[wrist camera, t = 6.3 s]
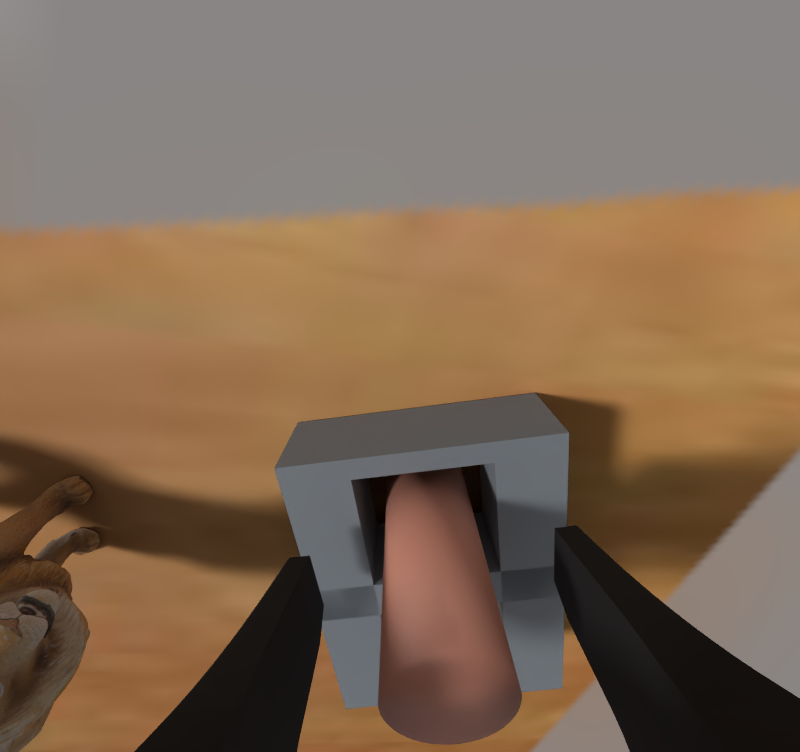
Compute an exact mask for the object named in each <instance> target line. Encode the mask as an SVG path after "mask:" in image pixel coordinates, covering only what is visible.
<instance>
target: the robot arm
mask: <svg viewBox="0 0 800 752" xmlns="http://www.w3.org/2000/svg"><path fill="white" fill-rule="evenodd" d="M554 582H555V585H556V588H557V590H558V593H559V596H560V599H561V602H562V604H563V607H564V610H565V612H566V615H567V618H568V620H569V622H570V624H571V626H572V628H573V631H574V633H575V635H576V637H577V639H578V641H579V643H580V645H581V647H582V649H583V651H584V653H585V655H586V657H587V660H588V662H589V664H590V666H591V668H592V670H593V672H594V674H595V676H596V678H597V680H598V682H599V684H600V686H601V688H602V690H603V692H604V694H605V696H606V698H607V701H608V703H609V704H610V706H611V709H612V711H613V713H614V715H615V717H616V720H617V722H618V724H619V726H620V729H621V731H622V733H623V735H624V738H625V740H626V743H627V745H628V748H629V750H630V752H800V698H798V697H796V696H795V695H793V694H792V693H790V692H789V691H787V690H785V689H784V688H782V687H781V686H779V685H777V684H776V683H774V682H773V681H771V680H770V679H768V678H767V677H765V676H763V675H762V674H760V673H759V672H757V671H755V670H754V669H753V668H751V667H750V666H748V665H747V664H745V663H744V662H742V661H741V660H739V659H738V658H736V657H735V656H733V655H732V654H730V653H729V652H727V651H726V650H725V649H723V648H722V647H721V646H719V645H718V644H716V643H715V642H714V641H712V640H711V639H709V638H708V637H707V636H705V635H704V634H703V633H701V632H700V631H698V630H697V629H696V628H695V627H693V626H692V625H691V624H689V623H688V622H687V621H685V620H684V619H683V618H681V617H680V616H679V615H678V614H677V613H675V612H674V611H673V610H672V609H670V608H669V607H668V606H666V605H665V604H664V603H663V602H662V601H660V600H659V599H658V598H657V597H655V596H654V595H653V594H652V593H651V592H649V591H648V590H647V589H646V588H645V587H644V586H642V585H641V584H640V583H639V582H638V581H637V580H635V579H634V578H633V577H632V576H631V575H630V574H629V573H627V572H626V571H625V570H624V569H623V568H622V567H621V566H619V565H618V564H617V563H616V562H615V561H614V560H613V559H612V558H611V557H610V556H608V555H607V554H606V553H605V552H604V551H603V550H602V549H601V548H600V547H599V546H598V545H597V544H596V543H594V542H593V541H592V540H591V539H590V538H589V537H588V536H587V535H586V534H585V533H584V532H583V531H582V530H581V529H580V528H578V527H577V526H568V527H559V528H555V535H554ZM323 610H324V604H323V600H322V597H321V593H320V590H319V586H318V583H317V579H316V576H315V572H314V569H313V565H312V562H311V558H310V556H301V557H292V558H289V559H288V560H287V562H286V563H285V565H284V566H283V568H282V569H281V571H280V572H279V574H278V575H277V577H276V578H275V580H274V581H273V583H272V584H271V586H270V587H269V588H268V590H267V591H266V593H265V594H264V596H263V597H262V599H261V600H260V602H259V603H258V604H257V606H256V607H255V609H254V610H253V611H252V613H251V614H250V616H249V617H248V618H247V620H246V621H245V623H244V624H243V625H242V627H241V628H240V630H239V631H238V632H237V634H236V635H235V636H234V638H233V639H232V640H231V642H230V643H229V644H228V645H227V647H226V648H225V649H224V651H223V652H222V653H221V654H220V656H219V657H218V658H217V660H216V661H215V662H214V663H213V665H212V666H211V667H210V668H209V670H208V671H207V672H206V673H205V674H204V676H203V677H202V678H201V679H200V681H199V682H198V683H197V684H196V685H195V686H194V688H193V689H192V690H191V691H190V692H189V693H188V694H187V696H186V697H185V698H184V699H183V700H182V701H181V703H180V704H179V705H178V706H177V707H176V708H175V709H174V710H173V711H172V712H171V714H170V715H169V716H168V717H167V718H166V719H165V720H164V721H163V722H162V723H161V724H160V725H159V726H158V728H157V729H156V730H155V731H154V732H153V733H152V734H151V735H150V736H149V737H148V738H147V739H146V740H145V741H144V742H143V743H142V744H141V745H140V746H139V747H138V748H137V749H136V750H135V751H134V752H297V748H298V742H299V737H300V733H301V728H302V724H303V719H304V715H305V710H306V706H307V701H308V696H309V692H310V687H311V683H312V678H313V673H314V669H315V664H316V659H317V655H318V650H319V645H320V637H321V629H322V619H323Z"/></svg>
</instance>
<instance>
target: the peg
mask: <svg viewBox="0 0 800 752" xmlns="http://www.w3.org/2000/svg"><path fill="white" fill-rule="evenodd" d="M521 700H522V693H521V688H520V684H519V681H518V677H517V673H516V669H515V666H514V662H513V658H512V655H511V651H510V647H509V643H508V640H507V636H506V632H505V629H504V625H503V621H502V617H501V614H500V610H499V606H498V603H497V599H496V595H495V591H494V588H493V584H492V580H491V577H490V573H489V569H488V565H487V562H486V558H485V554H484V551H483V547H482V543H481V539H480V536H479V532H478V528H477V525H476V521H475V517H474V513H473V510H472V506H471V502H470V499H469V495H468V491H467V487H466V484H465V480H464V476H463V473H462V469H461V467H456V468H448V469H440V470H431V471H423V472H414V473H406V474H398V475H389V476H387V493H386V518H385V542H384V567H383V591H382V616H381V640H380V665H379V689H378V707H379V711H380V714H381V716H382V717H383V719H384V721H385V722H386V723H387V724H388V725H389V726H390V727H391V728H392V729H394V730H395V731H397V732H398V733H400V734H402V735H404V736H406V737H408V738H411V739H413V740H417V741H420V742H425V743H430V744H447V745H448V744H460V743H467V742H471V741H475V740H479V739H482V738H484V737H487V736H489V735H491V734H493V733H495V732H497V731H499V730H500V729H502V728H503V727H504V726H506V725H507V724H508V723H509V722H510V721H511V720H512V719H513V718H514V716H515V715H516V714H517V712H518V710H519V708H520V705H521Z"/></svg>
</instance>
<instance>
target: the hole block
mask: <svg viewBox="0 0 800 752" xmlns="http://www.w3.org/2000/svg"><path fill="white" fill-rule="evenodd" d="M568 460H569V432H568V431H567V429H566V428H565V427H564V426H563V425H562V424H561V422H560V421H559V420H558V419H557V418H556V417H555V415H554V414H553V413H552V412H551V411H550V410H549V408H548V407H547V406H546V405H545V404H544V403H543V401H542V400H541V399H540V398H539V397H538V396H537V394H536V393H529V394H521V395H513V396H505V397H497V398H489V399H481V400H474V401H466V402H458V403H450V404H442V405H434V406H426V407H418V408H410V409H402V410H394V411H386V412H378V413H370V414H362V415H354V416H346V417H338V418H330V419H323V420H315V421H307V422H299V423H297V425H296V427H295V429H294V431H293V433H292V435H291V437H290V439H289V441H288V443H287V445H286V447H285V449H284V451H283V453H282V455H281V457H280V458H279V460H278V462H277V464H276V466H275V468H274V469H275V472H276V476H277V479H278V482H279V486H280V489H281V492H282V496H283V499H284V502H285V506H286V509H287V512H288V516H289V519H290V523H291V526H292V529H293V533H294V536H295V539H296V543H297V546H298V549H299V553H300V556H310V558H311V562H312V565H313V569H314V572H315V576H316V579H317V583H318V586H319V590H320V593H321V597H322V600H323V604H324V610H323V619H322V630H323V633H324V637H325V640H326V643H327V647H328V650H329V653H330V657H331V660H332V663H333V667H334V670H335V673H336V677H337V680H338V684H339V687H340V690H341V694H342V697H343V700H344V704H345V707H346V709H349V708H360V707H370V706H378V689H379V665H380V640H381V616H382V591H383V567H384V542H385V524H377V519H376V514H375V509H374V504H373V499H372V494H371V489H370V484H369V479H368V478H372V477H381V476H389V475H398V474H406V473H414V472H423V471H431V470H440V469H448V468H456V467H465V466H473V465H479V468H480V482H481V496H482V510H483V512H482V513H474V517H475V521H476V525H477V528H478V532H479V536H480V539H481V543H482V547H483V551H484V554H485V558H486V562H487V565H488V569H489V573H490V577H491V580H492V584H493V588H494V591H495V595H496V599H497V603H498V606H499V610H500V614H501V617H502V621H503V625H504V629H505V632H506V636H507V640H508V643H509V647H510V651H511V655H512V658H513V662H514V666H515V669H516V673H517V677H518V681H519V684H520V688H521V692H527V691H538V690H548V689H559V688H562V682H563V645H564V607H563V604H562V602H561V599H560V596H559V593H558V590H557V588H556V585H555V582H554V535H555V528H559V527H567V497H568Z"/></svg>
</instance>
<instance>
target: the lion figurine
mask: <svg viewBox="0 0 800 752" xmlns="http://www.w3.org/2000/svg"><path fill="white" fill-rule="evenodd" d="M92 493H93V491H92V489H91V488H90V485H89V484H88V483H87V482H85V481H84V480H83V479H82V477H80V476H73V477H69V478H66V479H64V480H62V481H59V482H57V483H55V484H54V485H52V486H50V487H49V488H48V489H47V490H45V491H44V492H43V493H42V494H41V495H40V496H39V497H38V498H37V499H35V500H34V501H33V502H32V503H31V504H30V505H28V506H27V507H26V508H24V509H23V510H21V511H19V512H18V513H16V514H14V515H13V516H11V517H9V518H8V519H6V520H5V521H3V522H1V523H0V752H18V751H20V750H21V749H22V748H23V747H24V746H26V745H27V744H28V743H29V742H30V741H31V740H32V739H33V738H34V737H35V736H36V735H37V734H38V733H39V732H40V731H41V729H42V727H43V725H44V723H45V721H46V719H47V717H48V715H49V712H50V710H51V708H52V706H53V703H54V702H55V700H56V699H57V698H58V697H59V696H60V694H61V693H62V692H63V690H64V689H65V688H66V686H67V685H68V684H69V682H70V681H71V679H72V678H73V676H74V674H75V672H76V670H77V669H78V667H79V664H80V661H81V658H82V656H83V653H84V650H85V647H86V642H87V640H88V638H89V635H90V631H89V629H88V622H87V620H86V618H85V616H84V615H83V613H82V612H81V611H80V609H79V608H78V607H77V606H76V605H75V603H74V602H73V601H72V597H71V592H72V582H71V576H70V574H69V572H68V571H67V570H66V569H64V568H62V567H61V566H62V564H63V563H64V562H65V560H66V559H67V558H68V556H69V555H70V554H72V553H75V554H76V555H83V554H85V553H89V552H92V551H93V550H95V549H96V548H97V547H98V545H99V544H100V539H99V535H98V533H96V532H94V531H92V530H89V529H85V528H79V529H75V530H72V531H70V532H68V533H66V534H65V535H63V536H61V537H60V538H58V539H56V540H52V541H51V542H49V543H48V544H47V545H46V546H45V547H44V548H43V549H42V550H41V552H40V553H39V554H38V555H36V556H35V557H34V558H33V557H32V556H31V555H24V551H25V549H26V547H27V546H28V544H29V543H30V541H31V540H32V539H33V538H34V536H35V535H36V534H37V533H38V532H39V531H40V530H41V528H42V527H43V526H44V525H45V524H46V523H47V522H49V521H50V520H51V519H53V518H54V517H55V516H57V515H59V514H61V513H62V512H64V511H65V510H66V509H67V508H68V507H70V506H78V505H82V504H84V503H86V502H87V501H88V500H89V498H90V496H91V494H92Z"/></svg>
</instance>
